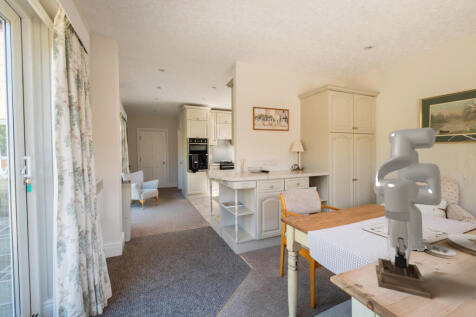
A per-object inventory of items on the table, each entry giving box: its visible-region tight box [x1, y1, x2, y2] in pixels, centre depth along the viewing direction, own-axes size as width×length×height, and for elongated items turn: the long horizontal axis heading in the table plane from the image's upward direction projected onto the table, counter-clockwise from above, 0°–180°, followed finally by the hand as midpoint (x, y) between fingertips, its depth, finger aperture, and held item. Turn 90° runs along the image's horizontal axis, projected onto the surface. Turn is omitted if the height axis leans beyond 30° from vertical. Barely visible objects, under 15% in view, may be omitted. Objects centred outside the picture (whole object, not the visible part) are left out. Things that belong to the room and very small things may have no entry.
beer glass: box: [386, 232, 412, 277], centre depth 76 cm, size 7×7×15 cm
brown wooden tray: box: [375, 257, 432, 300], centre depth 75 cm, size 14×14×5 cm
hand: (399, 262), depth 76 cm, fingers closed on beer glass, 6 cm apart
